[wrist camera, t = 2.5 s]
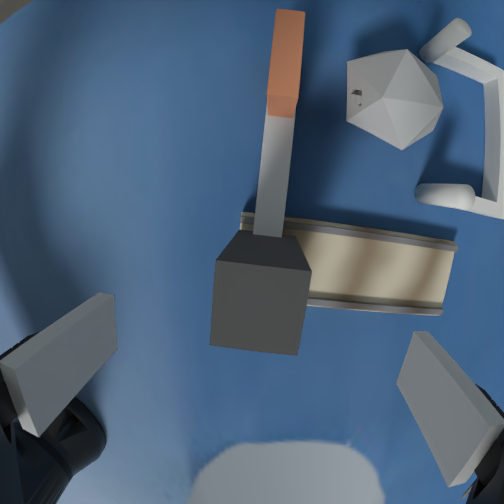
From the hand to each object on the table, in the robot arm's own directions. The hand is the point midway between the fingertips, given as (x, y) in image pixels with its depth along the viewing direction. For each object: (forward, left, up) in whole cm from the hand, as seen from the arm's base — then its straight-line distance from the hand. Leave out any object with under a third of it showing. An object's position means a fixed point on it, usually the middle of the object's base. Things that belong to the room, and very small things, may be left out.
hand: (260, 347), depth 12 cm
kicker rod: (0, +8, -17) cm, 19 cm away
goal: (+19, +16, -18) cm, 31 cm away
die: (+9, +16, -18) cm, 26 cm away
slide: (+8, 0, -18) cm, 20 cm away
